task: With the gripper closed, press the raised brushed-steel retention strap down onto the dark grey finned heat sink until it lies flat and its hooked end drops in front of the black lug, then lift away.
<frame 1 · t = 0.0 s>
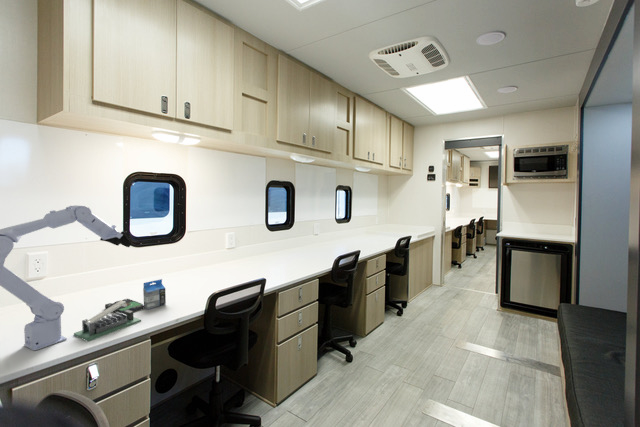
hand: (124, 244, 132), 32 cm above the table, tool tilted 50°, fingers open, 7 cm apart
disk drive: (124, 310, 141), on the table
heat sink: (109, 327, 121), resting on board
board: (109, 327, 121), on the table
strap: (106, 313, 120), point 6 cm above the table, hinge at 18.0°
label tape box: (154, 306, 145), on the table
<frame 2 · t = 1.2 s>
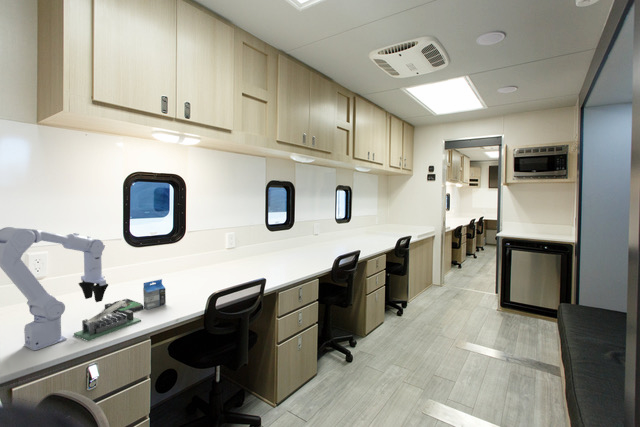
hand: (93, 299, 123), 10 cm above the table, tool pointing down, fingers open, 7 cm apart
nothing on the table moved.
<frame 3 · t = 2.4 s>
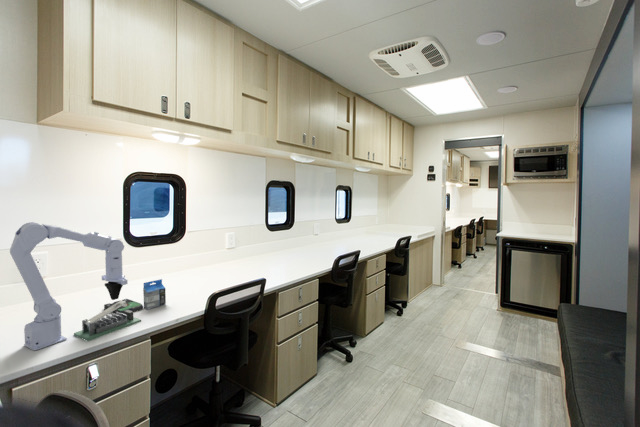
hand: (114, 299, 125), 11 cm above the table, tool pointing down, fingers closed
nothing on the table moved.
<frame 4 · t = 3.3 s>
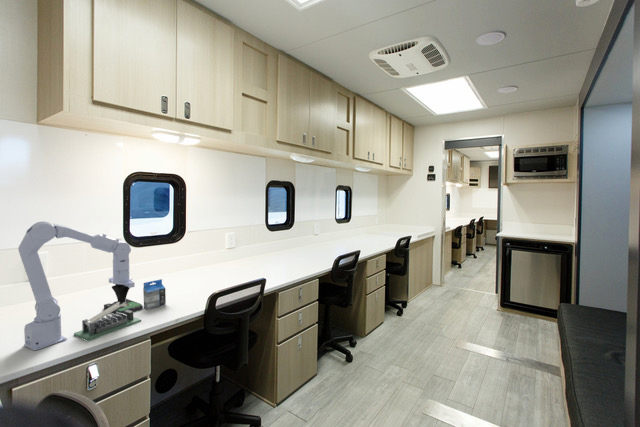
hand: (121, 301, 125), 9 cm above the table, tool pointing down, fingers closed, pressing on strap
strap: (106, 313, 120), point 6 cm above the table, hinge at 17.9°, touching gripper
everything else where it was.
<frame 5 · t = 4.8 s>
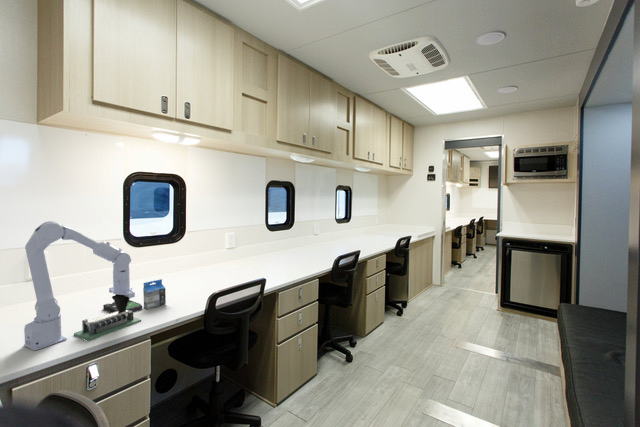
hand: (122, 311, 125), 5 cm above the table, tool pointing down, fingers closed, pressing on strap
strap: (107, 318, 120), point 4 cm above the table, hinge at 0.0°, touching gripper
everything else where it was.
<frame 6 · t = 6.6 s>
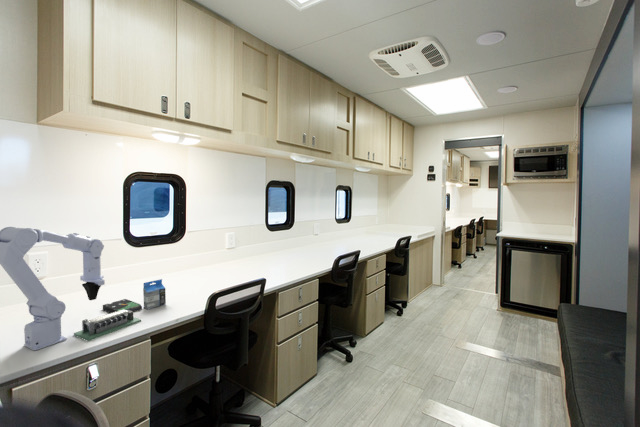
hand: (92, 299, 124), 10 cm above the table, tool pointing down, fingers closed
strap: (107, 318, 120), point 4 cm above the table, hinge at 0.0°
everything else where it was.
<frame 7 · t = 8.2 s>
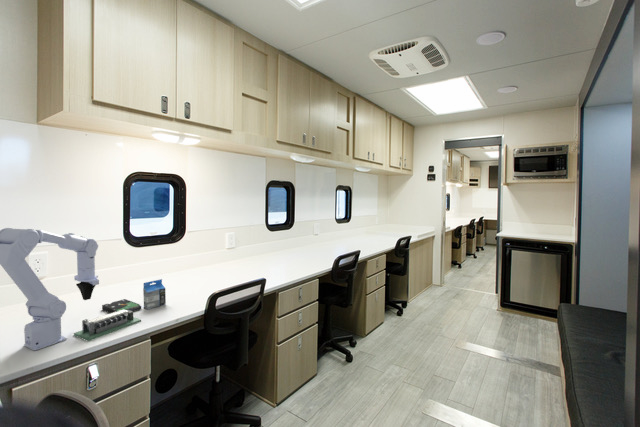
hand: (86, 299, 124), 10 cm above the table, tool pointing down, fingers closed
at the end: strap at +0° (first picture: +18°); the gripper is holding nothing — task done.
